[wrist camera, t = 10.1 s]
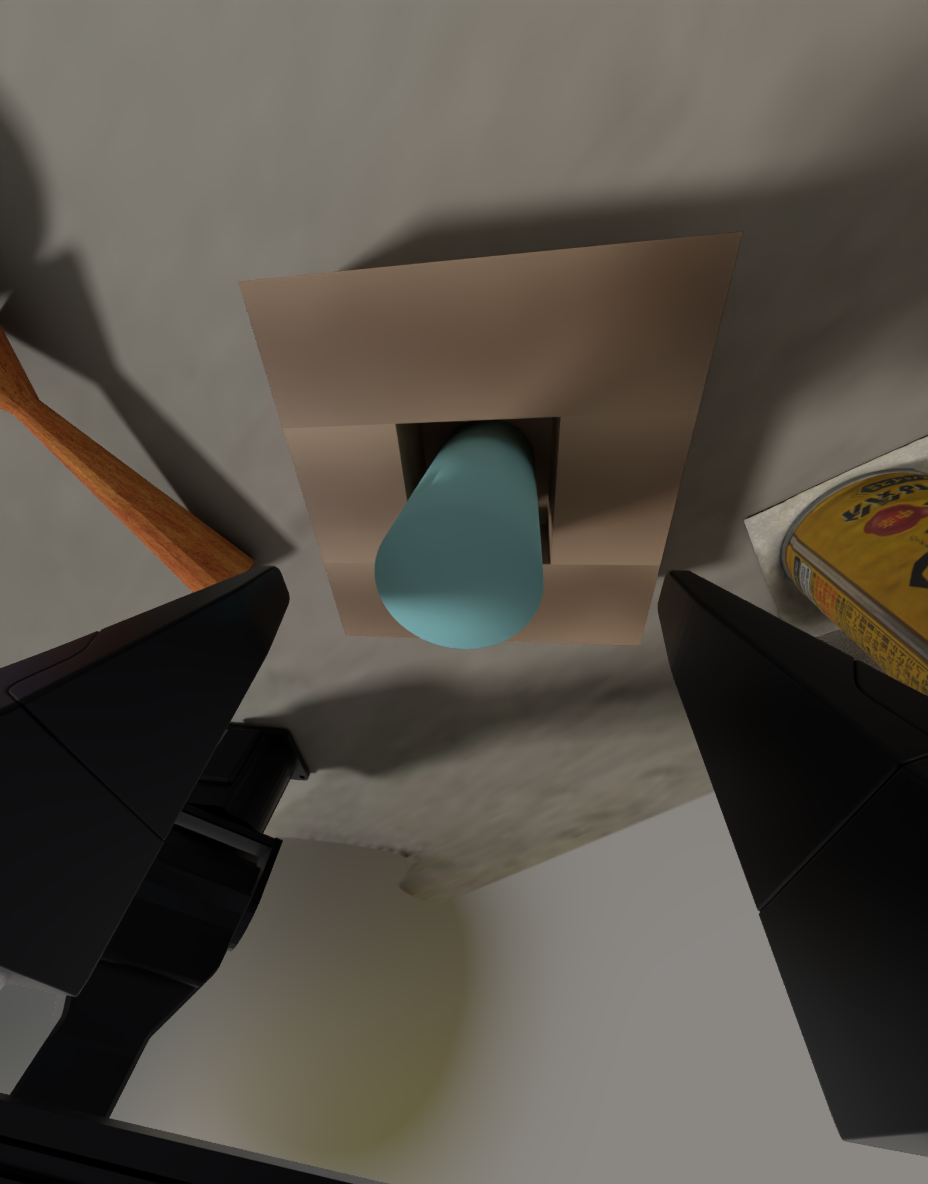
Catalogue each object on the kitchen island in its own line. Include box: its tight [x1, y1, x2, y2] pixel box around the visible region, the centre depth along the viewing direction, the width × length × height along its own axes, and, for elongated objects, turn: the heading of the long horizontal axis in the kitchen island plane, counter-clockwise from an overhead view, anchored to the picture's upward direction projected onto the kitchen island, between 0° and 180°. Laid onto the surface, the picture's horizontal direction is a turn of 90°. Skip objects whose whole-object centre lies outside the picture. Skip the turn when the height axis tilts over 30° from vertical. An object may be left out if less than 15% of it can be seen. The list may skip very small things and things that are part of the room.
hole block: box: [238, 231, 743, 645], centre depth 16 cm, size 13×13×4 cm
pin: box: [374, 419, 544, 649], centre depth 13 cm, size 4×4×9 cm
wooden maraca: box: [0, 325, 255, 593], centre depth 17 cm, size 6×6×20 cm
